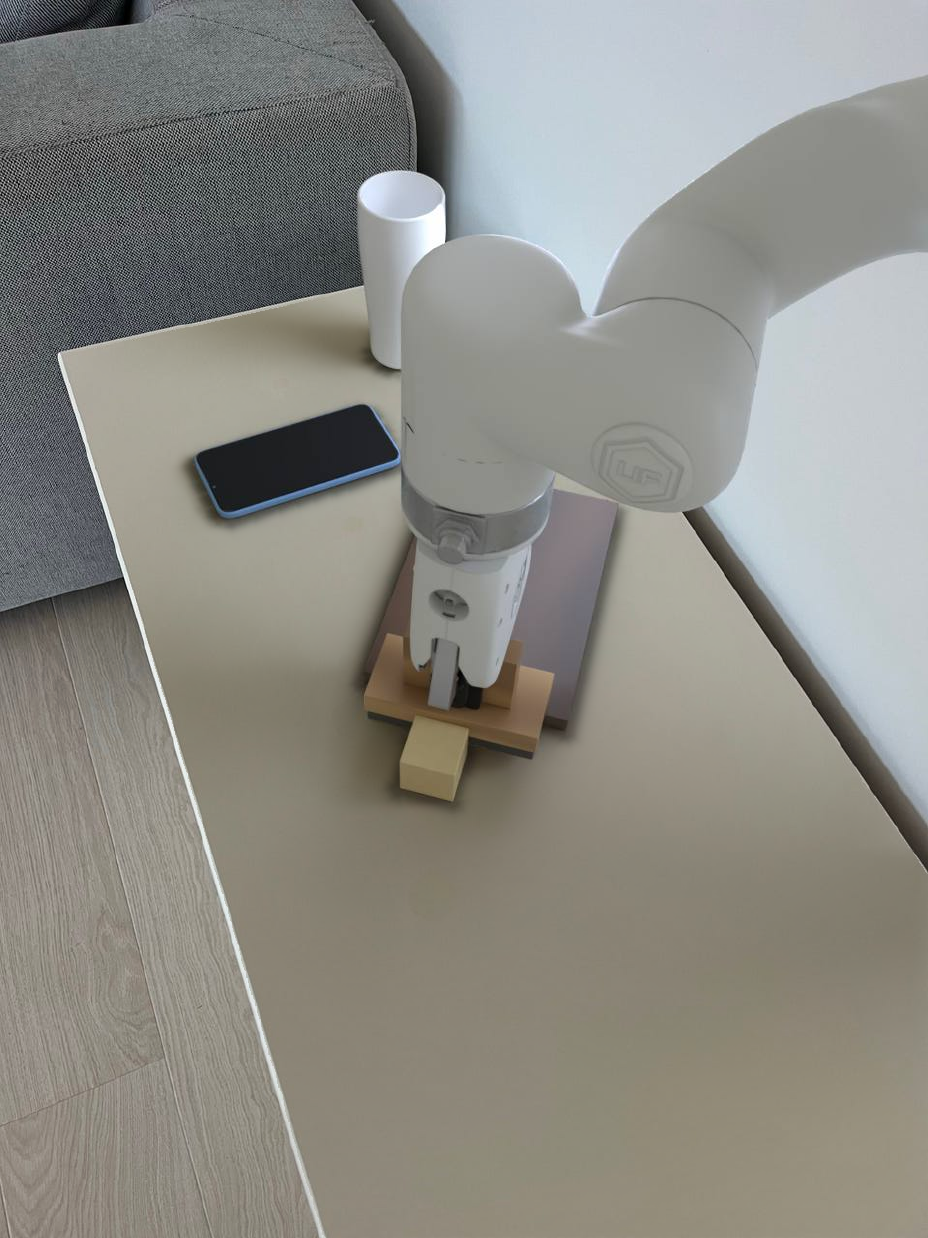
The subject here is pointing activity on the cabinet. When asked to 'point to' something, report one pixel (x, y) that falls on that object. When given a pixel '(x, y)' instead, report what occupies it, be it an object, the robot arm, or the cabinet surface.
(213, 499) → the smartphone
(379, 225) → the drinking glass
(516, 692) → the brown block with base
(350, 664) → the cabinet surface
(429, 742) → the cream foam cube
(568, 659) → the book
